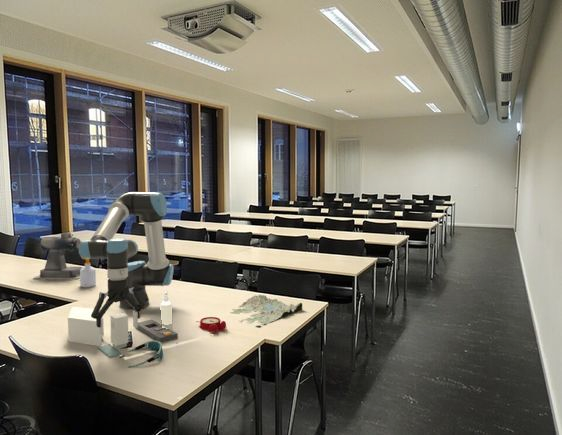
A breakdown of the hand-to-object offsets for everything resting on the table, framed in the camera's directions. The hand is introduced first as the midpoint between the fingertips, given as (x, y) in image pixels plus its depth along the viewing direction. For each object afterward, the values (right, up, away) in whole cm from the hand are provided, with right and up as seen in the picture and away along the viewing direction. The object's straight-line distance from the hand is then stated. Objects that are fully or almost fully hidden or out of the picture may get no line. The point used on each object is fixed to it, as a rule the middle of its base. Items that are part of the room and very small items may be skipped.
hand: (118, 330), depth 166 cm
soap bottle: (-59, +1, +101) cm, 117 cm away
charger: (0, -7, +1) cm, 7 cm away
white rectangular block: (-19, -7, +13) cm, 24 cm away
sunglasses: (+12, -9, -8) cm, 17 cm away
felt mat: (0, -7, +1) cm, 7 cm away
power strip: (+8, -6, +19) cm, 21 cm away
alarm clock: (+33, -6, +24) cm, 42 cm away
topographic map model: (+53, -5, +50) cm, 74 cm away
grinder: (-89, +4, +126) cm, 155 cm away
